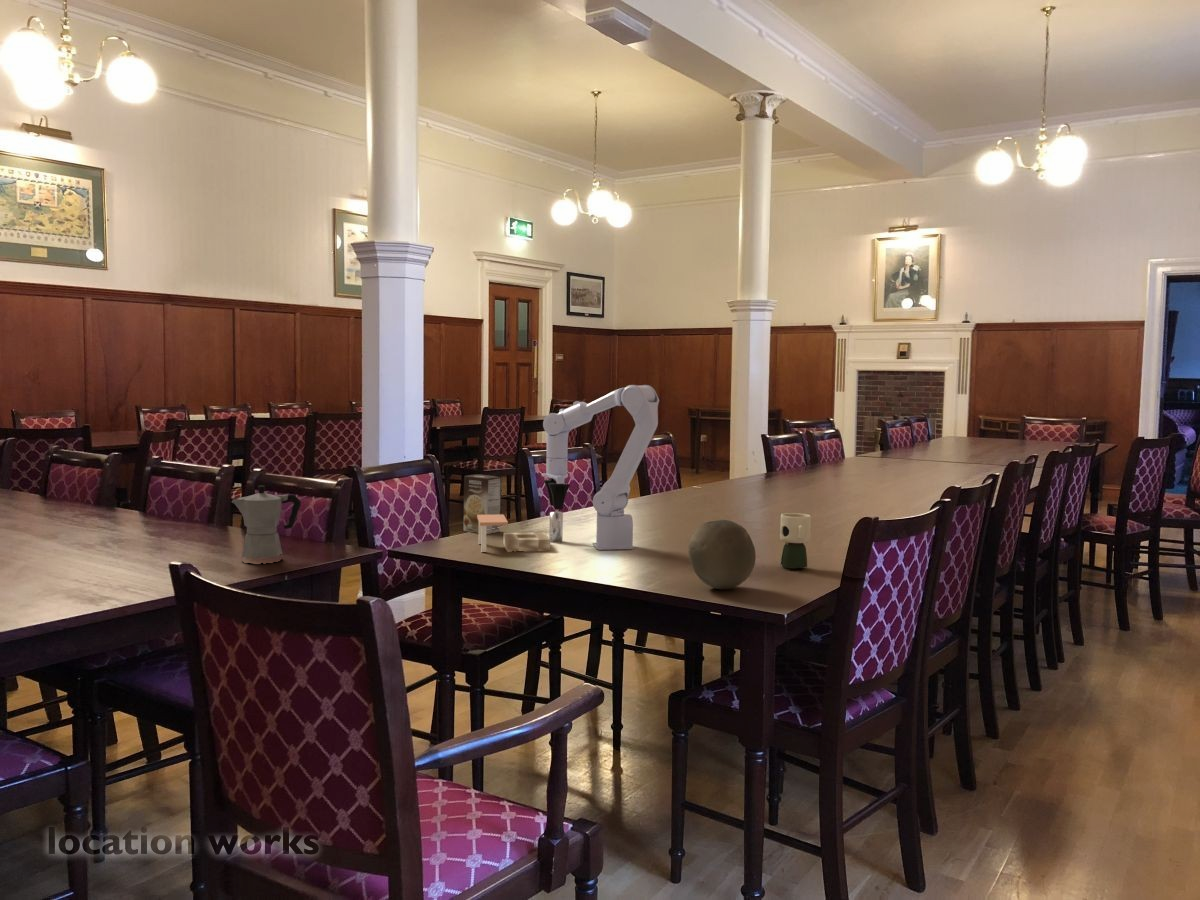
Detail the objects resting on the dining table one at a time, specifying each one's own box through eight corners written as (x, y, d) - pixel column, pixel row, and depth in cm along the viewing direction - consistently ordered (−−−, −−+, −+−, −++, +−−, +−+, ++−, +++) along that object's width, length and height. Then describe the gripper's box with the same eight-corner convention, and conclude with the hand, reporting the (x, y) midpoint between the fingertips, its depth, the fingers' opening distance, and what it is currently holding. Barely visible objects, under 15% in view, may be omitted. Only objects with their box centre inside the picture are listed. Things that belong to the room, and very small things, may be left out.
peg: (561, 540, 251) (561, 511, 250) (563, 542, 247) (563, 513, 247) (548, 540, 250) (548, 511, 249) (550, 542, 247) (550, 513, 246)
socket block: (544, 543, 246) (544, 532, 245) (549, 551, 235) (550, 539, 235) (503, 543, 243) (503, 532, 243) (507, 551, 233) (507, 540, 232)
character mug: (773, 563, 224) (775, 511, 223) (802, 564, 225) (804, 511, 224) (785, 573, 213) (787, 518, 212) (815, 573, 214) (817, 518, 213)
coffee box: (462, 531, 262) (462, 475, 261) (476, 528, 268) (477, 473, 267) (486, 534, 258) (487, 478, 256) (501, 531, 263) (501, 476, 262)
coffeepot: (233, 566, 209) (232, 488, 207) (231, 558, 217) (230, 484, 216) (303, 562, 215) (303, 486, 214) (298, 554, 224) (298, 482, 222)
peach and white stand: (503, 543, 244) (503, 514, 244) (507, 552, 232) (507, 522, 231) (476, 543, 243) (477, 514, 242) (479, 553, 230) (480, 522, 230)
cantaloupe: (694, 580, 204) (696, 514, 203) (758, 585, 200) (760, 518, 199) (681, 594, 190) (683, 523, 189) (749, 600, 186) (752, 527, 185)
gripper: (538, 455, 253) (538, 503, 254) (546, 460, 239) (545, 511, 240) (563, 455, 254) (563, 503, 256) (572, 460, 240) (571, 511, 241)
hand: (556, 507), depth 248 cm, fingers open, 7 cm apart
